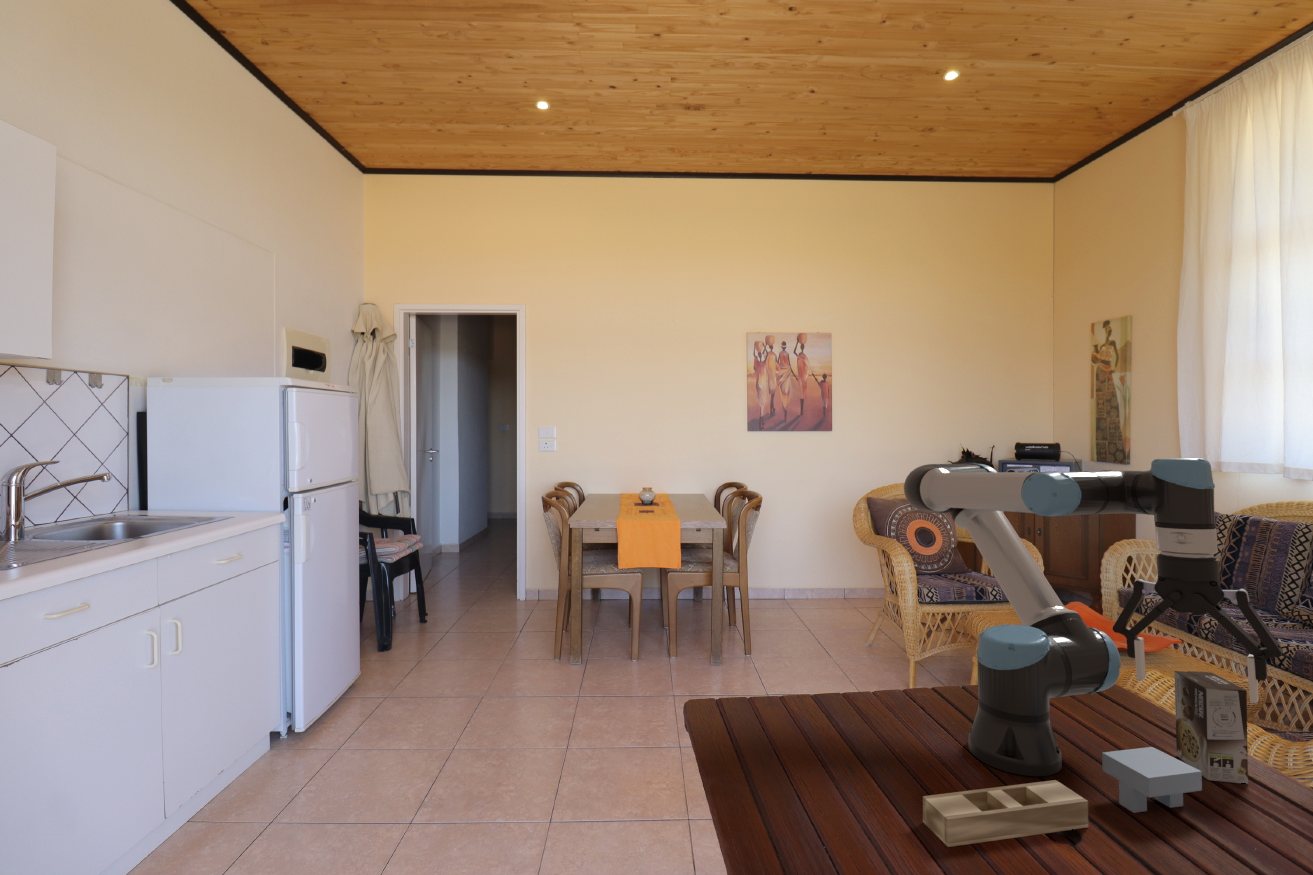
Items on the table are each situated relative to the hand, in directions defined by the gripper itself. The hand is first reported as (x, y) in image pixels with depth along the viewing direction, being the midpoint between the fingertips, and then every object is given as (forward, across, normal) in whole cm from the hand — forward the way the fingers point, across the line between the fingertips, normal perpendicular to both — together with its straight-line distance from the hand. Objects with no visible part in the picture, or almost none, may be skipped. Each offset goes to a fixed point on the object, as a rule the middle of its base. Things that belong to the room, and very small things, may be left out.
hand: (1194, 689), depth 97 cm
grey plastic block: (+20, -6, -2) cm, 21 cm away
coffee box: (+20, -1, +20) cm, 28 cm away
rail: (+19, -20, -25) cm, 37 cm away
